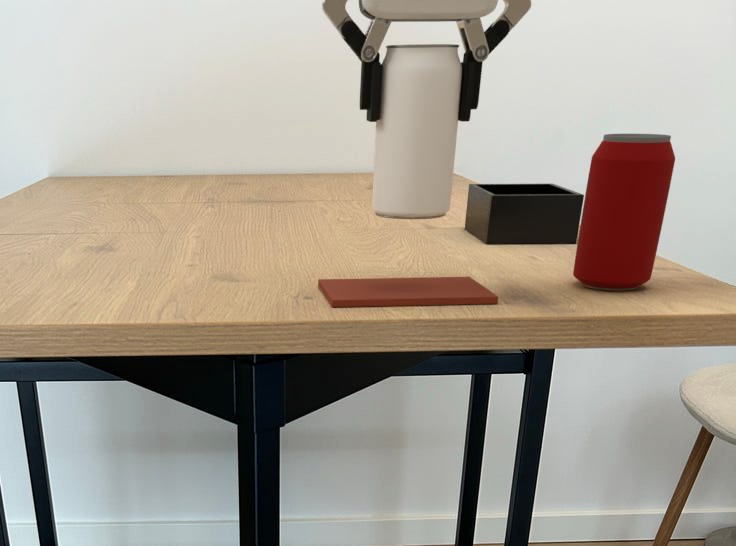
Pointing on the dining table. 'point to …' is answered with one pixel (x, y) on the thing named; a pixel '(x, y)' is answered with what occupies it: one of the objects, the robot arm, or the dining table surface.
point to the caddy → (523, 213)
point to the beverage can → (623, 211)
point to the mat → (405, 291)
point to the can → (416, 131)
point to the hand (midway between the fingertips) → (417, 118)
